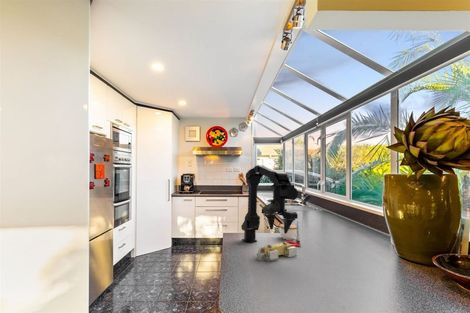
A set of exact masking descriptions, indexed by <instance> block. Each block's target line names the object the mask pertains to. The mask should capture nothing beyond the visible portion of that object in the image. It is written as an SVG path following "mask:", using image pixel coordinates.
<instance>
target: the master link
mask: <svg viewBox="0 0 470 313" xmlns="http://www.w3.org/2000/svg"><path fill="white" fill-rule="evenodd" d="M291 244H292V243H287V242H285V241H283V242H279V243H274V244H267V245H263V247H264V254H266V256H267V257H268V251H273V250H278V256H281V255H282V254H287V248H288V247H291ZM282 256H283V255H282Z"/></svg>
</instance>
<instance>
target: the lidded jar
mask: <svg viewBox="0 0 470 313" xmlns="http://www.w3.org/2000/svg"><path fill="white" fill-rule="evenodd" d="M278 227H279V231H278V232H279V234H280V236H281V238H282V239H283V240H285V239H286V240H285V241H293V240H294V238H296V236H297V225H295V224H291V226H290V227H289V229H288V232H287V233H286V234H285V233H284V223H282V224H279V225H278Z"/></svg>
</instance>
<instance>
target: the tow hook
mask: <svg viewBox="0 0 470 313" xmlns="http://www.w3.org/2000/svg"><path fill="white" fill-rule="evenodd" d="M296 226H297V233H296V236H295V238H296V240H295V241H293V240H285V241H284V242H287V243H288V244H291V247H293V246H294V247H301V246H302V245H301V240H300V230H299V229H300V228H299V227H300V226H299V221H296Z"/></svg>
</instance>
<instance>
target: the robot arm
mask: <svg viewBox="0 0 470 313" xmlns="http://www.w3.org/2000/svg"><path fill="white" fill-rule="evenodd" d="M263 177H266V178H268V179H269V181H270V182H271V183H272V185H271V186H270V188H271V189H272V199H271V200H270V203H269V204H266V205H264V206H263V207H262V209H261V214H263V216H265V217H266V219H267V222H268V225H269V226H268V227H269V228H270V230H273V229H274V226H275V220H276V215H278V216H282V218H281V220H282V221H283V224H284V233H285V234H286V233H287V232H288V229H289V227H290V226H291V225H293V222H294V221H296V219H298V217H299V216H298V213H297V212H296V211H292V210H289V211H288V210H287V208H286V203H288V201H287V200H289V201H290V200H291V201H294V200H297V198H298V196H299V192H298V189H297V188H296V187H295V185H294V184H292V183H291V180H290V179H289V176H288V173H287V172H284V171H276V170H275V169H272V168H269V167H267V166H265V165H264V164H263V165H262V164H261V165H259V164H257V165H255V166H254V167H252V168H251V169H249V170H248V171H246V173H245V182H246V185H247V186H248V193H247V195H248V197H247V199H248V200H247V201H248V203H247V213H246V214H245V216H244V220H243V223H242V224H241V230H242V231H244V233H243V236H244V237H243V238H242V239H241V241H244V242H245V243H247V244H248V243H249V244H251V243H257V242H258V240H257V239H256V237H257V236H256V231H259V228H260V225H261V224H260V223H261V216H260V215H258V213H257V210H258V209H257V205H258V199H257V198H258V186H259V185H260V183H261V179H262V178H263ZM256 241H257V242H256Z"/></svg>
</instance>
